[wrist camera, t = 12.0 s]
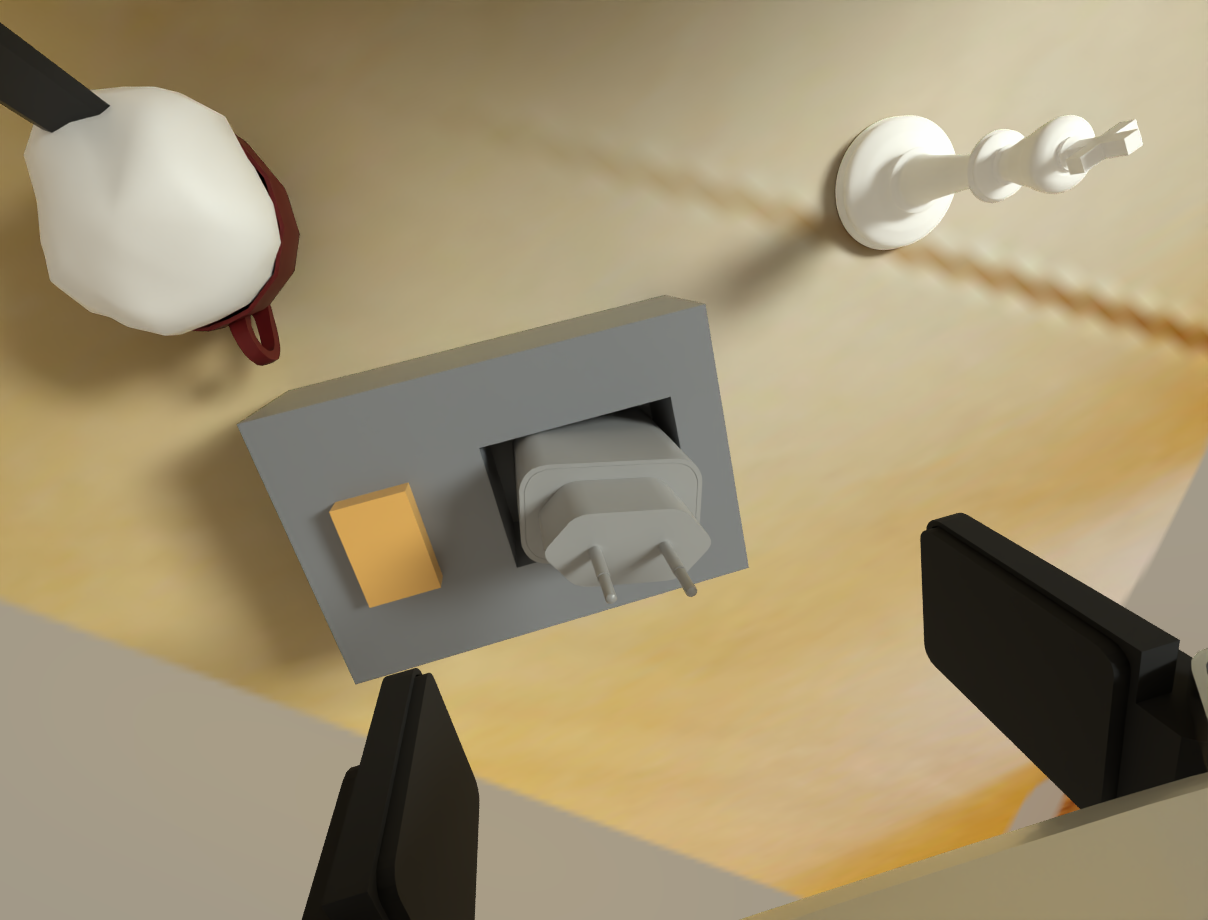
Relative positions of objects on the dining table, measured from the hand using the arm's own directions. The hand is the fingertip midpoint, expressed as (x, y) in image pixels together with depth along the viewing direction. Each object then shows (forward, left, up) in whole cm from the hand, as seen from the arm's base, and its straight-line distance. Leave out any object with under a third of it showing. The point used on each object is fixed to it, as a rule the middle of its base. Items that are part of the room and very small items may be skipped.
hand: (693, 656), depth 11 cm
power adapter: (0, 0, -15) cm, 15 cm away
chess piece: (-15, -7, -16) cm, 22 cm away
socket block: (+3, 0, -16) cm, 16 cm away
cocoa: (+10, -11, -16) cm, 22 cm away
